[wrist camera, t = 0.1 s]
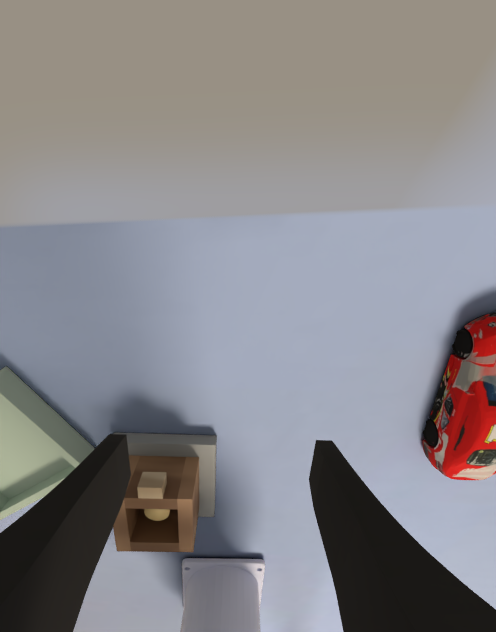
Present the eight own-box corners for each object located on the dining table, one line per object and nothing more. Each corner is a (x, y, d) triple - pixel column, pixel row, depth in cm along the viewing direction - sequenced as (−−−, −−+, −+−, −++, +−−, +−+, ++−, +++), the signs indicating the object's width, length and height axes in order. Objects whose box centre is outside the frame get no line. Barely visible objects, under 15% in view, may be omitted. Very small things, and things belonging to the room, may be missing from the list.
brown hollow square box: (199, 506, 25) (193, 552, 22) (133, 505, 25) (117, 551, 22) (199, 447, 23) (192, 488, 20) (125, 445, 23) (106, 486, 20)
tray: (100, 453, 24) (89, 472, 23) (15, 499, 26) (-1, 520, 24) (6, 366, 21) (-14, 380, 20) (-83, 424, 23) (-109, 443, 21)
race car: (462, 303, 21) (510, 327, 17) (538, 309, 21) (602, 334, 17) (407, 452, 25) (435, 495, 22) (469, 455, 26) (508, 499, 22)
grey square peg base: (214, 505, 27) (211, 548, 24) (123, 504, 27) (107, 547, 23) (216, 435, 24) (212, 473, 21) (113, 432, 24) (93, 470, 20)
